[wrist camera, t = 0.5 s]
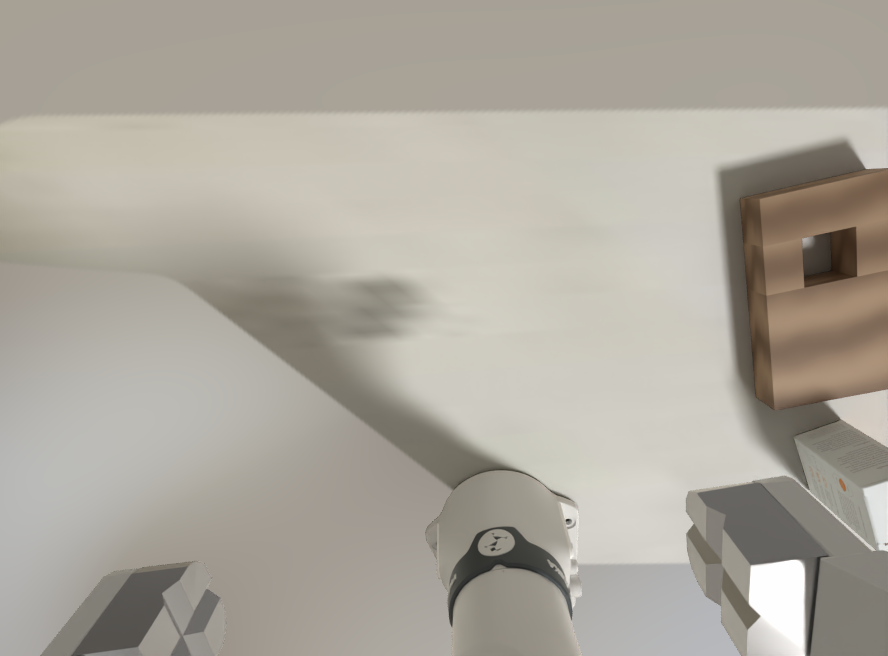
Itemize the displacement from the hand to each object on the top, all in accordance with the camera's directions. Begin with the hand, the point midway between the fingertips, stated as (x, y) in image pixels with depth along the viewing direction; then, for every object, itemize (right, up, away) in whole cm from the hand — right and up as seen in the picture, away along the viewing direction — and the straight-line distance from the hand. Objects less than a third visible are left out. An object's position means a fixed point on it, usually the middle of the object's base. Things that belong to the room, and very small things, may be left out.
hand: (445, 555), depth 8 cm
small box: (+44, -11, +49) cm, 66 cm away
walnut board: (+38, +8, +44) cm, 58 cm away
